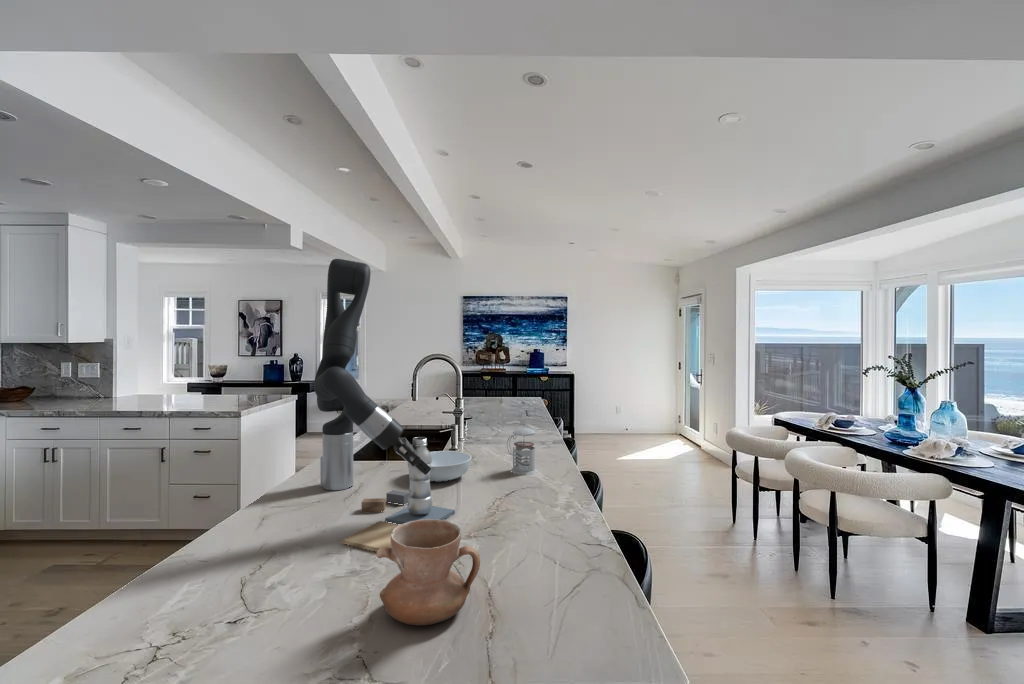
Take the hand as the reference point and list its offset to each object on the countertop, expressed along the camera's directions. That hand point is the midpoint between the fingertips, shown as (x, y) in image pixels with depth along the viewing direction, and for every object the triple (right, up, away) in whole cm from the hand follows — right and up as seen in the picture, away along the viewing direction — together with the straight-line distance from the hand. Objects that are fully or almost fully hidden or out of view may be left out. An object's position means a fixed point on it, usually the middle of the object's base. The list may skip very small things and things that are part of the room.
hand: (425, 467), depth 133 cm
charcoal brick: (-10, -13, +12) cm, 20 cm away
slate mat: (-1, -13, 0) cm, 13 cm away
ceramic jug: (+8, -14, -45) cm, 48 cm away
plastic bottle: (-1, -12, 0) cm, 12 cm away
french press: (+26, -13, +45) cm, 54 cm away
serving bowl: (-1, -13, +36) cm, 39 cm away
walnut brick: (-15, -13, +5) cm, 21 cm away
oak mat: (-8, -13, -14) cm, 21 cm away
